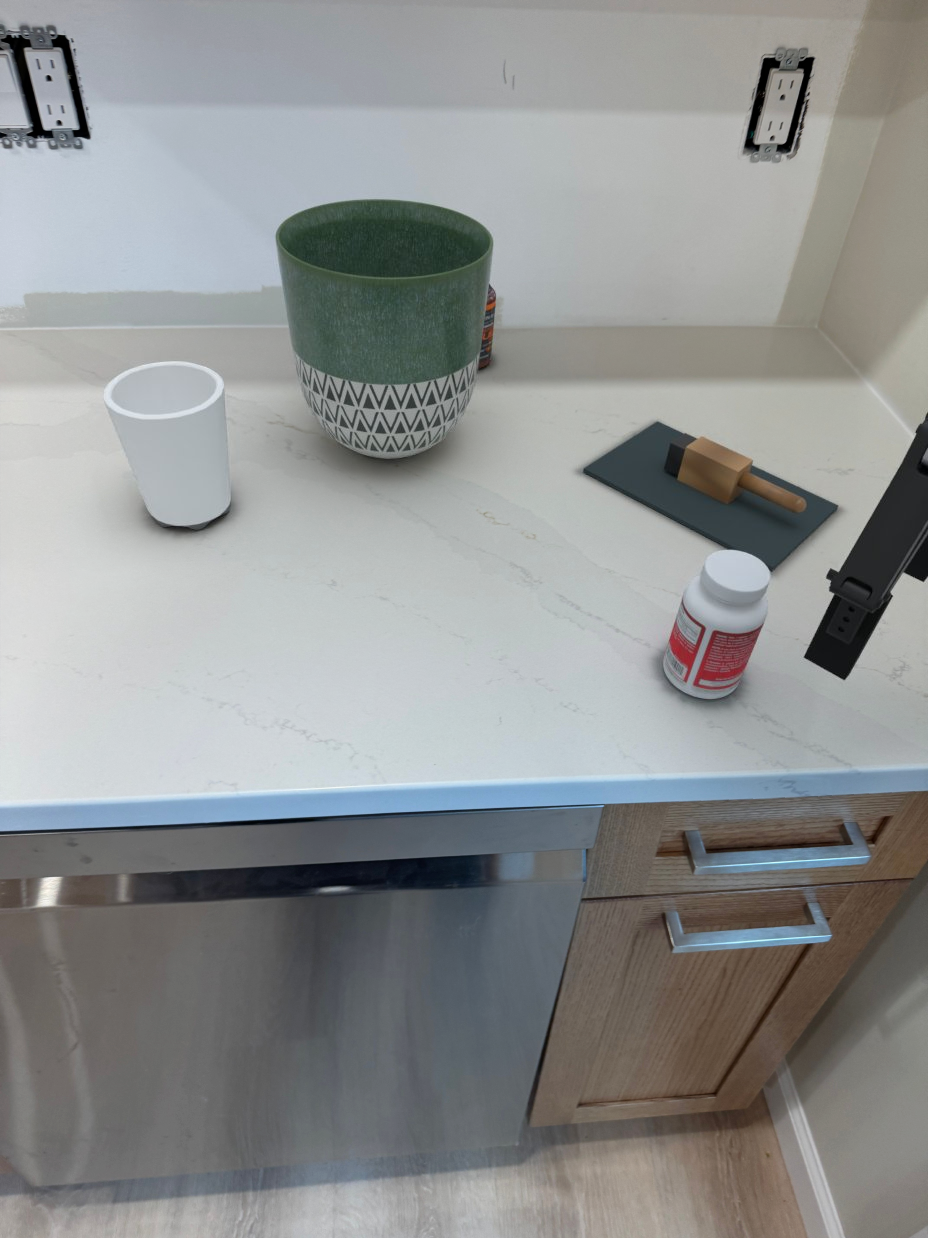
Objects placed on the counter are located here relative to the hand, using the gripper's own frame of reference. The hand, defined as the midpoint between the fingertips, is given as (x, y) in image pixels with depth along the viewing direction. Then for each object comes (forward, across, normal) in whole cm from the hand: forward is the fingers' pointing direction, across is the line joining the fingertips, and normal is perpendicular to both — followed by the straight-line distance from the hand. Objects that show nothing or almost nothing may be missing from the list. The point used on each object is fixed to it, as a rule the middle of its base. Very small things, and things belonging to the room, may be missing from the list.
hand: (868, 615), depth 54 cm
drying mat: (+12, -22, -22) cm, 34 cm away
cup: (+12, +18, -55) cm, 59 cm away
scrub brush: (+12, -22, -19) cm, 32 cm away
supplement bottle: (+12, -24, -58) cm, 64 cm away
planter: (+12, -4, -51) cm, 53 cm away
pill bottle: (+12, +1, -9) cm, 15 cm away
